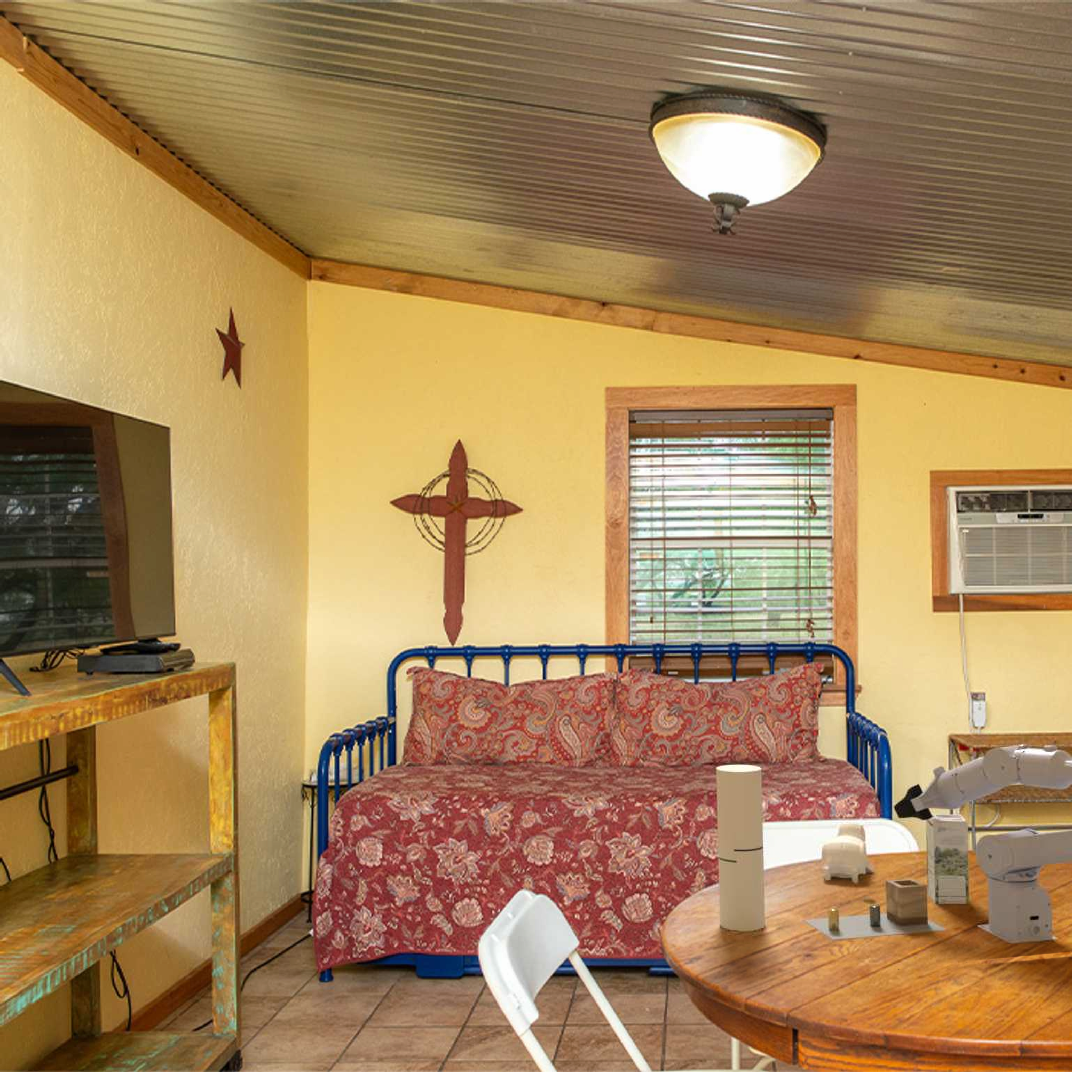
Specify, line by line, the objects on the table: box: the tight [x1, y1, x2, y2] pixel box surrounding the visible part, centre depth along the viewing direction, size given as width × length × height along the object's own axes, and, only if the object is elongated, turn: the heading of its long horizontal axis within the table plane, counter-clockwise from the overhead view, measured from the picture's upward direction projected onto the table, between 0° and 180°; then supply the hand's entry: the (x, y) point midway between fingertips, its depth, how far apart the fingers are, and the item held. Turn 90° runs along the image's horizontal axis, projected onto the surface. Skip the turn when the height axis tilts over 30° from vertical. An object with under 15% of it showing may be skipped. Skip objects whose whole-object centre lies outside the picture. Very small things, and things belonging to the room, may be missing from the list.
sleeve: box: [885, 878, 929, 926], centre depth 196 cm, size 5×5×6 cm
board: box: [802, 912, 948, 941], centre depth 194 cm, size 11×19×1 cm, turn 102°
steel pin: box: [869, 904, 881, 927], centre depth 193 cm, size 2×2×4 cm
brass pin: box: [827, 908, 840, 931], centre depth 192 cm, size 2×2×4 cm
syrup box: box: [925, 813, 970, 905], centre depth 208 cm, size 6×6×14 cm
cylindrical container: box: [715, 764, 766, 932], centre depth 198 cm, size 7×7×25 cm
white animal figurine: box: [821, 821, 875, 884], centre depth 229 cm, size 9×8×15 cm
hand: (912, 805), depth 208 cm, fingers open, 7 cm apart
